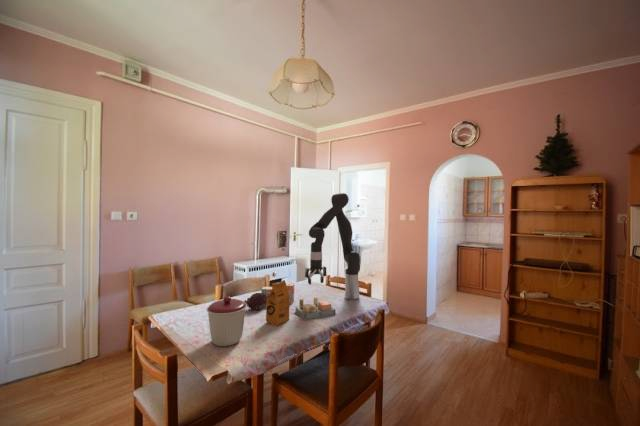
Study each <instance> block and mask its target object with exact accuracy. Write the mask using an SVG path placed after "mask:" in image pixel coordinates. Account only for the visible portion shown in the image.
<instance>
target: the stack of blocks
mask: <svg viewBox="0 0 640 426" xmlns="http://www.w3.org/2000/svg"><path fill="white" fill-rule="evenodd" d="M286 285H287V288H288V291H289V303H290V304H289V305H293V303H294V302H295V283H291V282H286ZM271 289H272V286H263V287H262V288H261V292H260V293H263V294H266V296H269V294H270V293H271Z"/></svg>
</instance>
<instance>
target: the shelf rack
mask: <svg viewBox="0 0 640 426" xmlns="http://www.w3.org/2000/svg"><path fill="white" fill-rule="evenodd" d="M295 313H296V314H298V315H299V316H300V317H301V318H302V319H304V320H305V321H306V320H307V321H308V320H311V319H312V320H313V319H317V318H322V317H328V316H333V315H336V308H334V307H332V306H331V309H330V310H324V311H321V310H319V309H318V307H317V312H313V313H307V314H306V313H304V312H303V310H301V309H299V306H295Z"/></svg>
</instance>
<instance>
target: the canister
mask: <svg viewBox="0 0 640 426" xmlns="http://www.w3.org/2000/svg"><path fill="white" fill-rule="evenodd" d="M247 308H248V306H247V304H246V303H245V302H244V301H243V300H242V299H235V298H232V297H231V296H229V295H227V296H225V297H223V299H221V300H217V301H214V302H212V303H211V304H209V305H207V307H206V309H205V310H206V312H207V313H208V315H207V316H208V323H209V332H210V338H211V342H212V344H214V346H217V347H230V346H233V345H235V344H237V343H238V342H240V340H241V339H242V337H243V332H244V325H245V324H244V323H245V316H246V309H247Z"/></svg>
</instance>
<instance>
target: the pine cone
mask: <svg viewBox="0 0 640 426" xmlns="http://www.w3.org/2000/svg"><path fill="white" fill-rule="evenodd" d="M267 298H268V296H266V294H263V293H261V292H255V293H253V294H251V295H250V297H247V300H246V299H244V301H243V302H245V303H246V304H247V307H248V309H250V310H253V311H254V310H255V311H256V310H257V309H259V308H261V306H264V305H266V302H267Z"/></svg>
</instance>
